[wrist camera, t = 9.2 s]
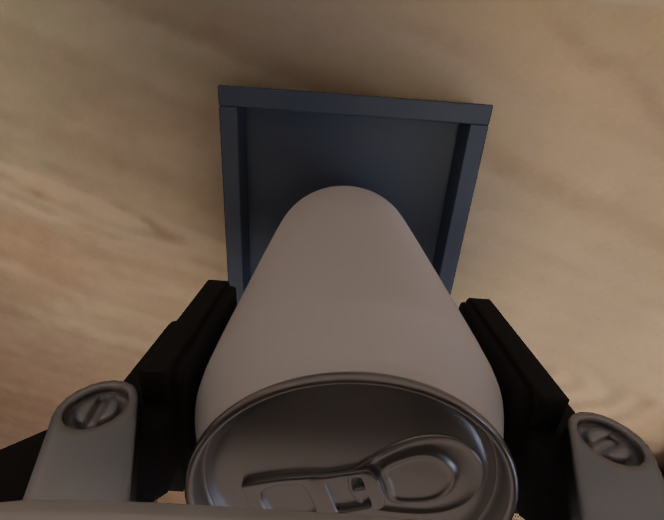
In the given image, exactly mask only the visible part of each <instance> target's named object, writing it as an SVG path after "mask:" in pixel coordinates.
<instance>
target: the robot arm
mask: <svg viewBox="0 0 664 520" xmlns="http://www.w3.org/2000/svg"><path fill="white" fill-rule="evenodd" d="M236 306H237V294H236V287H235V286H230V283H229V281H218V280H208V281H207V282H206V284H205V285H204V286H203V288H202V289H201V290H200V291H199V293H198V294H197V295H196V297H195V298H194V299H193V300H192V302H191V303H190V304H189V306H188V307H187V308H186V310H185V311H184V312H183V313H182V315H181V316H180V317H179V319H178V320H177V321H173V322H171V323H170V324H169V325H168V326H167V328H166V329H165V330H164V331H163V333H162V334H161V335H160V336H159V338H158V339H157V340H156V341H155V343H154V344H153V345H152V346H151V348H150V349H149V350H148V351H147V353H146V354H145V355H144V356H143V358H142V359H141V360H140V361H139V363H138V364H137V365H136V366H135V368H134V369H133V370H132V371H131V373H130V374H129V375H128V376H127V378H126V379H125V380H124V381H115V380H113V381H103V382H99V383H96V384H92V385H89V386H87V387H85V388H82V389H80V390H78V391H76V392H75V393H73V394H72V395H70V396H69V397H67V398H66V399H65V400H64V401H63V402H62V403H61V404H60V405H59V406H58V407H57V409H56V410H55V412H54V414H53V416H52V418H51V421H50V424H49V427H48V429H47V430H45V431H43V432H40V433H38V434H36V435H34V436H31V437H29V438H27V439H24V440H22V441H20V442H17V443H15V444H13V445H10V446H8V447H6V448H4V449H1V450H0V520H430V519H415V518H400V517H385V516H369V515H354V514H338V513H323V512H307V511H291V510H274V509H257V508H240V507H223V506H206V505H189V504H172V503H157V499H158V498H159V497H161V496H163V495H164V494H166V493H167V492H168V491H181V492H183V491H184V481H185V473H186V468H187V464H188V461H189V458H190V455H191V453H192V450H193V448H194V446H195V445H196V443H197V442H196V432H195V406H196V398H197V393H198V389H199V386H200V383H201V380H202V377H203V374H204V372H205V369H206V367H207V365H208V363H209V361H210V359H211V356H212V354H213V352H214V350H215V348H216V346H217V344H218V342H219V340H220V338H221V336H222V334H223V332H224V330H225V328H226V326H227V324H228V322H229V320H230V318H231V316H232V314H233V312H234V310H235V308H236ZM459 311H460V313H461V314H462V316H463V318H464V319H465V321H466V323H467V324H468V326H469V328H470V330H471V331H472V333H473V335H474V336H475V338H476V340H477V342H478V343H479V345H480V347H481V349H482V351H483V353H484V354H485V356H486V358H487V360H488V362H489V364H490V366H491V368H492V370H493V373H494V375H495V377H496V380H497V382H498V385H499V388H500V392H501V396H502V401H503V411H504V438H503V439H504V441H505V443H506V444H507V446H508V448H509V450H510V452H511V454H512V456H513V459H514V462H515V465H516V469H517V473H518V480H519V494H518V502H517V506H516V510H515V513H519V515H520V516H521V517H522V518H524V519H525V520H664V476H663V475H662V474H661V471H660V469H659V467H658V464H657V462H656V459H655V457H654V455H653V453H652V452H651V450H650V449H649V447H648V446H647V445H646V444H645V443H644V441H643V440H642V439H641V438H640V437H639V436H637V435H636V434H635V433H633V432H632V431H631V430H630V429H628V428H627V427H625V426H623V425H622V424H620V423H618V422H616V421H615V420H612V419H610V418H607V417H605V416H602V415H599V414H594V413H590V412H579V413H575V412H574V411H573V410H572V408H571V407H570V406H569V404H568V402H569V399H568V398H567V396H566V395H565V394H564V393H563V391H562V390H561V389H560V388H559V386H558V385H557V384H556V383H555V381H554V380H553V379H552V378H551V376H550V375H549V374H548V372H547V371H546V370H545V369H544V367H543V366H542V365H541V364H540V362H539V361H538V360H537V359H536V357H535V356H534V355H533V354H532V352H531V351H530V350H529V348H528V347H527V346H526V345H525V343H524V342H523V341H522V340H521V338H520V337H519V336H518V335H517V333H516V332H515V331H514V330H513V328H512V327H511V326H510V324H509V323H508V322H507V321H506V319H505V318H504V317H503V316H502V314H501V313H500V312H499V311H498V309H497V308H496V307H495V306H494V304H493V303H492V302H491V301H490V300H489V299H477V298H469V299H467V301H466V302H462V303H461V304H460V306H459Z"/></svg>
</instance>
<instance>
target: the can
mask: <svg viewBox="0 0 664 520" xmlns="http://www.w3.org/2000/svg"><path fill="white" fill-rule="evenodd" d="M195 432H196V442H197V443H196V445H195V446H194V448H193V450H192V453H191V455H190V458H189V461H188V464H187V468H186V473H185V481H184V489H185V499H186V503H187V504H189V505H206V506H223V507H240V508H257V509H274V510H291V511H307V512H323V513H338V514H354V515H369V516H385V517H400V518H415V519H430V520H512V518H513V515H514V513H515V510H516V506H517V502H518V494H519V480H518V473H517V469H516V465H515V462H514V459H513V456H512V454H511V452H510V450H509V448H508V446H507V444H506V443H505V441H504V439H503V438H504V411H503V401H502V396H501V392H500V388H499V385H498V382H497V380H496V377H495V375H494V373H493V370H492V368H491V366H490V364H489V362H488V360H487V358H486V356H485V354H484V353H483V351H482V349H481V347H480V345H479V343H478V342H477V340H476V338H475V336H474V335H473V333H472V331H471V330H470V328H469V326H468V324H467V323H466V321H465V319H464V318H463V316H462V314H461V313H460V311H459V309H458V308H457V306H456V304H455V303H454V301H453V299H452V298H451V296H450V294H449V293H448V291H447V289H446V288H445V286H444V284H443V283H442V281H441V279H440V278H439V276H438V274H437V273H436V271H435V269H434V268H433V266H432V264H431V263H430V261H429V259H428V258H427V256H426V254H425V253H424V251H423V250H422V248H421V246H420V245H419V243H418V241H417V240H416V238H415V236H414V235H413V233H412V232H411V230H410V228H409V227H408V225H407V224H406V222H405V221H404V219H403V217H402V216H401V215H400V213H399V212H398V211H397V209H396V208H395V207H394V206H393V205H392V204H391V203H390V202H388V201H387V200H386V199H385V198H383V197H382V196H380V195H378V194H376V193H374V192H372V191H370V190H367V189H364V188H360V187H355V186H332V187H327V188H323V189H320V190H317V191H315V192H313V193H311V194H309V195H307V196H305V197H304V198H302V199H301V200H300V201H298V202H297V203H296V204H295V205H294V206H293V207H292V208H291V209H290V210H289V211H288V213H287V214H286V215H285V217H284V218H283V220H282V222H281V223H280V225H279V227H278V229H277V230H276V232H275V234H274V236H273V238H272V240H271V242H270V243H269V245H268V247H267V249H266V251H265V253H264V255H263V257H262V259H261V260H260V262H259V264H258V266H257V268H256V270H255V272H254V274H253V276H252V278H251V280H250V281H249V283H248V285H247V287H246V289H245V291H244V293H243V295H242V297H241V299H240V301H239V303H238V305H237V306H236V308H235V310H234V312H233V314H232V316H231V318H230V320H229V322H228V324H227V326H226V328H225V330H224V332H223V334H222V336H221V338H220V340H219V342H218V344H217V346H216V348H215V350H214V352H213V354H212V356H211V359H210V361H209V363H208V365H207V367H206V369H205V372H204V374H203V377H202V380H201V383H200V386H199V389H198V393H197V398H196V406H195Z"/></svg>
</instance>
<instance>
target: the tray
mask: <svg viewBox="0 0 664 520" xmlns="http://www.w3.org/2000/svg"><path fill="white" fill-rule="evenodd" d="M218 100H219V105H220V106H219V117H220V136H221V155H222V174H223V193H224V212H225V231H226V250H227V269H228V281H229V283H230V286H235V287H236V294H237V305H238V303H239V301H240V299H241V297H242V295H243V293H244V291H245V289H246V287H247V285H248V283H249V281H250V280H251V278H252V276H253V274H254V272H255V270H256V268H257V266H258V264H259V262H260V260H261V259H262V257H263V255H264V253H265V251H266V249H267V247H268V245H269V243H270V242H271V240H272V238H273V236H274V234H275V232H276V230H277V229H278V227H279V225H280V223H281V222H282V220H283V218H284V217H285V215H286V214H287V213H288V211H289V210H290V209H291V208H292V207H293V206H294V205H295V204H296V203H297V202H298V201H300V200H301V199H302V198H304V197H305V196H307V195H309V194H311V193H313V192H315V191H317V190H320V189H323V188H327V187H332V186H355V187H360V188H364V189H367V190H370V191H372V192H374V193H376V194H378V195H380V196H382V197H383V198H385V199H386V200H387V201H388V202H390V203H391V204H392V205H393V206H394V207H395V208H396V209H397V211H398V212H399V213H400V215H401V216H402V217H403V219H404V221H405V222H406V224H407V225H408V227H409V228H410V230H411V232H412V233H413V235H414V236H415V238H416V240H417V241H418V243H419V245H420V246H421V248H422V250H423V251H424V253H425V254H426V256H427V258H428V259H429V261H430V263H431V264H432V266H433V268H434V269H435V271H436V273H437V274H438V276H439V278H440V279H441V281H442V283H443V284H444V286H445V288H446V289H447V291H448V293H449V294H451V290H452V285H453V281H454V277H455V272H456V268H457V263H458V259H459V254H460V250H461V246H462V241H463V237H464V232H465V228H466V223H467V219H468V214H469V210H470V206H471V201H472V197H473V192H474V188H475V183H476V179H477V175H478V170H479V166H480V161H481V157H482V152H483V148H484V143H485V139H486V135H487V130H488V125H489V122H490V117H491V113H492V108H493V105H486V104H473V103H459V102H446V101H432V100H419V99H405V98H391V97H378V96H364V95H351V94H337V93H324V92H310V91H297V90H283V89H270V88H256V87H243V86H229V85H218Z"/></svg>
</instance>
